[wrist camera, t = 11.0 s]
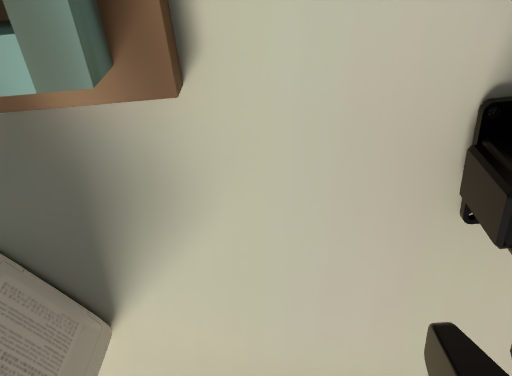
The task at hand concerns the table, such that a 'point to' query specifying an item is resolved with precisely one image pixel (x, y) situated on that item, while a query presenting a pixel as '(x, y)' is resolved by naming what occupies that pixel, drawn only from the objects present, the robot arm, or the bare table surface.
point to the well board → (132, 59)
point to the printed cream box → (46, 329)
